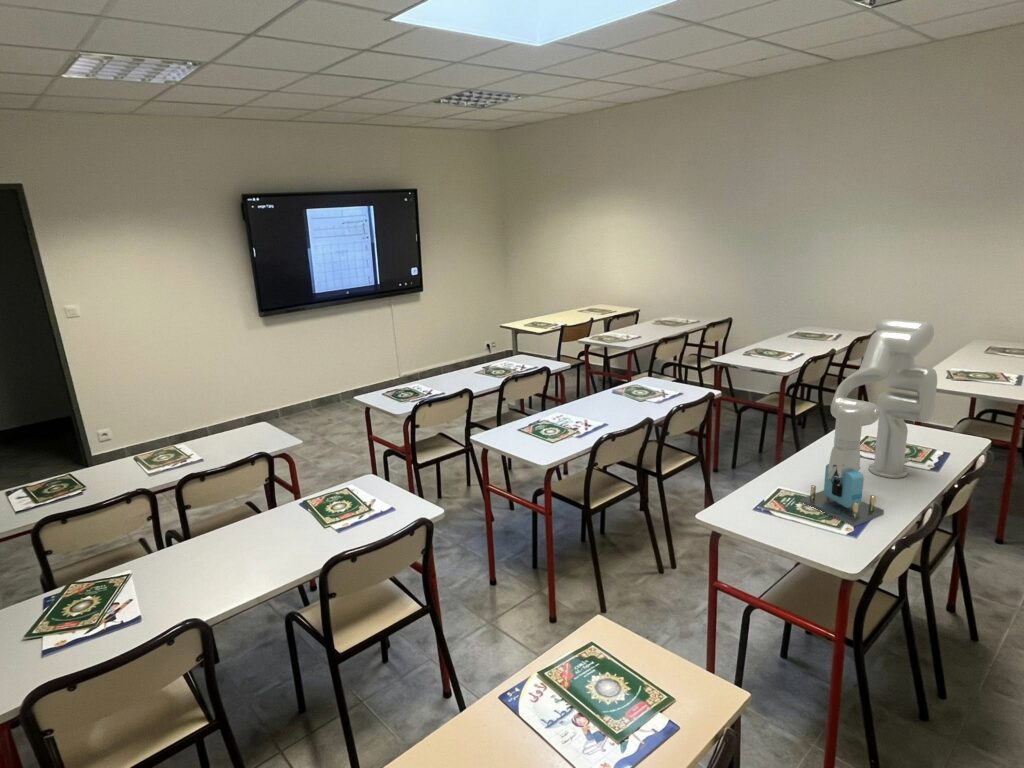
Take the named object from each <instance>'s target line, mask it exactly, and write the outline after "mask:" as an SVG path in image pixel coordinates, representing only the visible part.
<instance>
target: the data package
mask: <svg viewBox="0 0 1024 768" xmlns="http://www.w3.org/2000/svg"><path fill="white" fill-rule="evenodd" d="M828 468H829V463H826V465H825V471H824V485H823V490H824V493H825V495H826V496H827V497H829V498H831V499H832V500H834V501H836V502H838V503H839V504H841V505H843V506H845V507H846V508H851V507H853V502H858V503H859V506H860V505H861V502H863V501H862V499H863V492H864V491H863V489H864V480H865V479H864V478H865V477H864V474H863V473H862V472H860V470H859V471H857V470H855V469H854V470H851V471H848V472H846V473H845V477H844V478H843V480H842V484H841V486H842V496H841V497H838V496H835V495H833V494H832V483H831V481H830V480H829V479H828V476H829V474H828ZM837 475H838V474H837ZM838 476H839V475H838ZM836 480H837V481H839V478H836Z"/></svg>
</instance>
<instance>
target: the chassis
mask: <svg viewBox="0 0 1024 768" xmlns="http://www.w3.org/2000/svg"><path fill="white" fill-rule="evenodd" d="M816 489H817V486H816V485H815V484H811V485H810V493H809V494H810V495H808V496H804V497H802V498H800V499H799V503H800V502H802V503H804V504H806V505H809V506H811V507H814V508H816V509H818V510H821V511H822V512H825V513H827V514H829V515H831V516H833V517H835V518H834V519H836V518H837V519H836V520H838V519H839V520H838V521H840V520H841V521H840V522H842V521H843V523H845V522H846V523H845V524H847V523H848V524H847V525H849V524H850V526H851V527H854V526H855V527H857V526H859V525H861V524H864V523H866V522H869V521H871V520H873V519H876V518H879V517H881V516H882V515H884V514H885V510H884V509H882V508H881V507H878V506H875V505H876V496H875V495H873V494H872V495H871V494H870V495H869V501H868V502H869V503H867V502H865V501H862V502H861V505H860V506H859V503H858V502H853V507H851V508H846V507H845V506H843V505H841V504H839V503H838V502H836V501H834V500H832V499H831V498H829V497H827V496H826V495H825V493H824V489H822V490H821V491H819V492H816ZM806 505H805V506H806ZM822 512H821V513H822ZM829 515H828V516H829ZM831 516H830V517H831ZM833 517H832V518H833Z"/></svg>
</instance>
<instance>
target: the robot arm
mask: <svg viewBox="0 0 1024 768" xmlns="http://www.w3.org/2000/svg"><path fill="white" fill-rule="evenodd" d="M934 335H935V328H934V326H933V324H931V322H929V321H922V320H913V319H912V320H909V319H900V318H899V319H898V318H882V319H880V320H878V321H877V322H876V324H875V332H874V333H872V334H871V336H870V338H869V342H868V344H867V346H866V350H865V353H864V356H863V358H862V361H861V362H860V363H861V364H860V367H859V369H858V370H856V371H854V372H853V373H852V374H850V375H849V376H848V375H847V377H845V379H844V380H842V381H841V382H840V384H839V385H838V386H837V388H836V390H835V392H834V396H833V398H832V401H831V405H830V414H831V415H832V417H833V418H835V426H834V440H833V447H832V448H831V452H830V456H829V463H828V464H829V468H828V474H829V476H828V479H829V480H830V481H831V483H832V494H833V495H835V496H838V497H841V496H842V486H841V484H842V480H843V478H844V477H845V473H846V472H848V471H851V470H854V469H855V470H857V471H859V472H860V470H861V465H860V464H861V449H860V448H861V439H862V438H861V437H862V427H865V426H870V425H872V424H874V423H875V422H877V433H876V439H875V440H876V441H875V450H874V452H875V453H874V461H873V462H872V463H871V464H869V465H868V470H869V472H870V473H872V474H873V475H877V476H879V477H882V478H889V479H900V478H905V477H907V476H908V473H909V472H908V469H907V468H905V464H907V463H909V462H910V459H909V458H908V457H906V456H905V455H906V447H907V440H908V439H907V438H908V431H909V430H908V425H907V424H906V422H905V420H907V421H912V422H918V423H919V422H920V423H927V422H929V421H930V420H931V419H932V418H933V415H934V412H935V404H936V395H937V394H936V393H937V389H938V374H937V371H936V370H935V369H934V368H933V367H931V366H926V365H921V364H920V365H919V364H915V357H917V356H919V354H920V353H922V352H923V350H925V349H926V348H927V347H928V346H929V345H930V344H931V342H932V341H933V338H934ZM880 381H884V383H885V385H886V386H887V387H889V388H891V389H896V390H886V391H883V392H881V393H880V394H879V396H878V398H877V404H876V403H874V402H870V401H865V400H859V399H856V398H855V399H853V398H849V397H848V396H849V394H850V393H851V391H853V390H855V389H856V388H858V387H860V386H864V385H868V384H871V383H877V382H880ZM897 390H902V391H897ZM904 391H909V392H904ZM910 392H915V393H916V394H915V393H910ZM837 474H838V475H839V476H838V475H837ZM836 478H839V481H837V480H836Z"/></svg>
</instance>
